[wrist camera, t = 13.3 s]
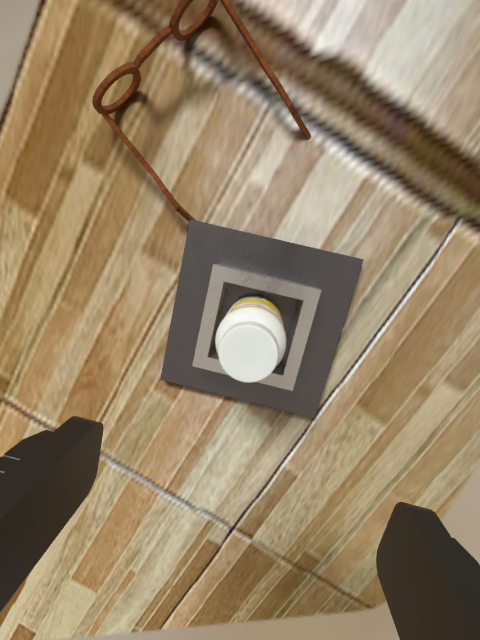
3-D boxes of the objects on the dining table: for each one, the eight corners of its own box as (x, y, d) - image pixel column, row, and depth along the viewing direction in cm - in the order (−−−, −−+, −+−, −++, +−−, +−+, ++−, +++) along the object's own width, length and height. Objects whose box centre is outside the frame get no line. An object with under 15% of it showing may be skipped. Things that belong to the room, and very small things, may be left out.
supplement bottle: (253, 283, 29) (247, 296, 20) (294, 322, 30) (307, 354, 20) (214, 323, 30) (191, 353, 21) (254, 361, 31) (249, 407, 21)
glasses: (218, 6, 26) (207, -51, 21) (311, 137, 28) (320, 112, 23) (108, 118, 29) (75, 90, 24) (198, 233, 30) (184, 229, 25)
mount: (192, 220, 29) (182, 216, 26) (360, 259, 29) (372, 259, 25) (163, 376, 33) (151, 389, 29) (312, 413, 32) (318, 432, 29)
